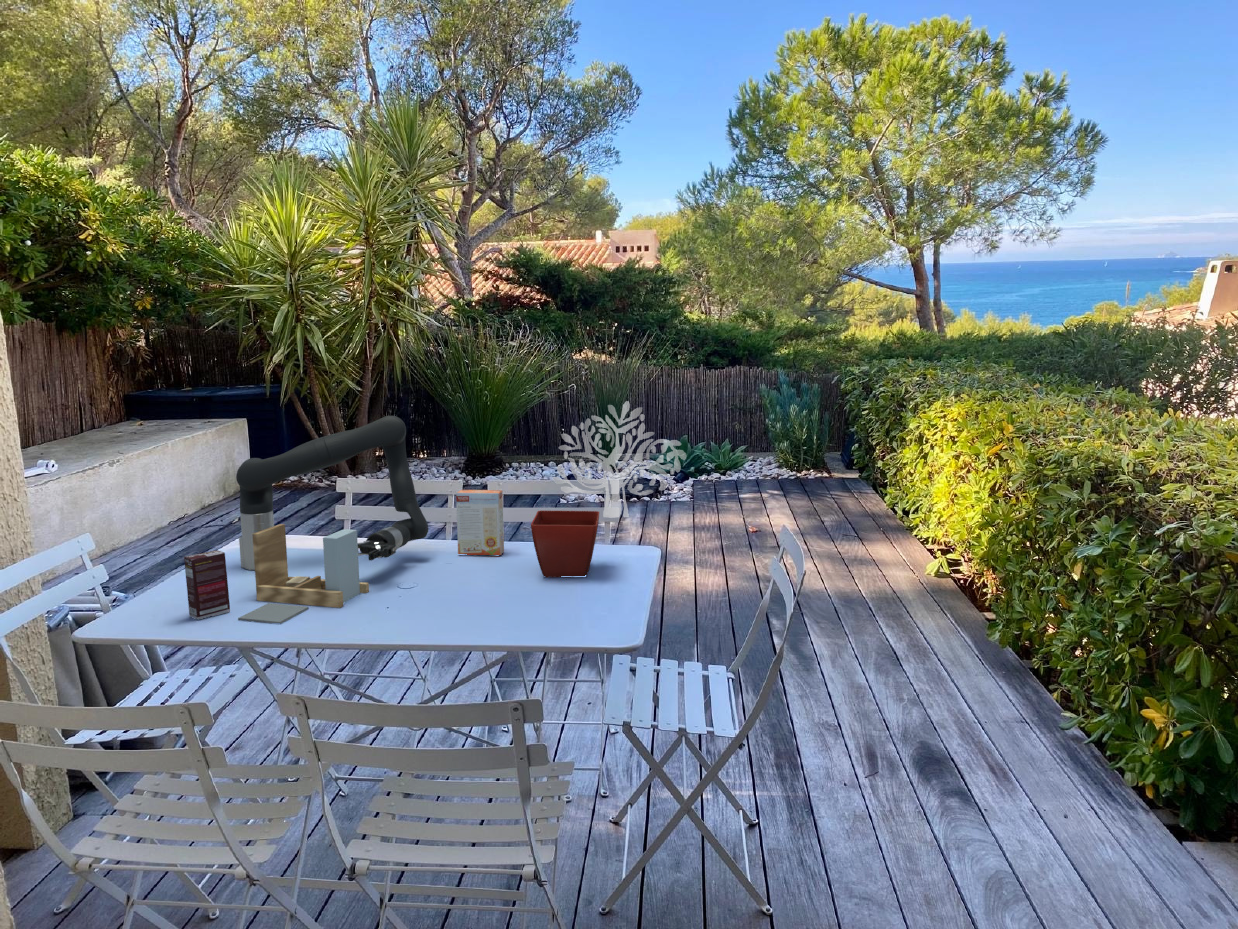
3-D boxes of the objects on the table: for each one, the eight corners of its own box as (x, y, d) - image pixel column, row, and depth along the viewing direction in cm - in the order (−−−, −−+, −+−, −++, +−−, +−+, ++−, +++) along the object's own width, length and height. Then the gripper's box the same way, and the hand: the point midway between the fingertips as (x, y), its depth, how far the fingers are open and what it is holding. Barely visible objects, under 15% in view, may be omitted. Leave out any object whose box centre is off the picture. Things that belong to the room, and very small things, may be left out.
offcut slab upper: (286, 589, 232) (285, 582, 232) (296, 583, 238) (295, 576, 238) (300, 590, 232) (300, 582, 232) (310, 583, 238) (309, 576, 238)
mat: (238, 620, 214) (238, 618, 214) (268, 605, 226) (268, 603, 226) (280, 624, 211) (280, 622, 211) (308, 609, 223) (308, 606, 223)
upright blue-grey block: (326, 603, 227) (322, 537, 224) (347, 592, 237) (343, 529, 234) (339, 605, 226) (336, 538, 223) (359, 593, 236) (356, 530, 233)
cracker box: (504, 552, 279) (503, 489, 276) (500, 557, 273) (498, 493, 270) (462, 551, 281) (460, 488, 277) (457, 556, 275) (455, 492, 272)
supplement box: (221, 608, 223) (217, 549, 221) (230, 612, 220) (226, 552, 218) (187, 617, 217) (183, 556, 214) (196, 621, 214) (191, 559, 211)
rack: (253, 600, 230) (249, 535, 227) (286, 584, 244) (283, 523, 241) (340, 607, 224) (336, 540, 221) (369, 591, 238) (366, 528, 235)
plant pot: (597, 581, 247) (596, 524, 245) (531, 581, 248) (530, 524, 245) (599, 563, 266) (599, 510, 263) (538, 563, 266) (537, 510, 264)
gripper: (362, 528, 253) (331, 541, 238) (406, 531, 250) (378, 544, 234) (363, 552, 254) (333, 567, 239) (407, 555, 251) (379, 570, 235)
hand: (355, 556), depth 237 cm, fingers open, 8 cm apart
